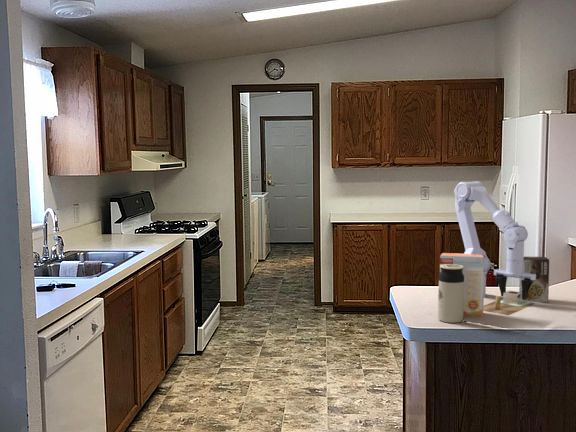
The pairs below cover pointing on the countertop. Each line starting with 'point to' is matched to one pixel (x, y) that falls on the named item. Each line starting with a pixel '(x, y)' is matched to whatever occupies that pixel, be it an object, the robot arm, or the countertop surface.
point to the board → (505, 306)
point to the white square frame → (512, 297)
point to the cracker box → (469, 280)
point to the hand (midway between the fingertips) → (513, 297)
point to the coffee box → (537, 278)
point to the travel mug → (451, 293)
